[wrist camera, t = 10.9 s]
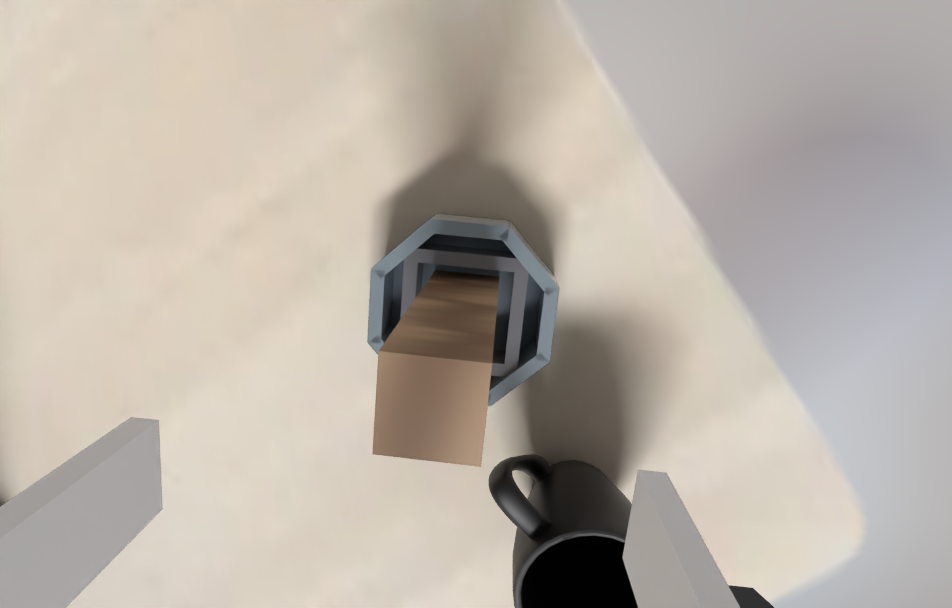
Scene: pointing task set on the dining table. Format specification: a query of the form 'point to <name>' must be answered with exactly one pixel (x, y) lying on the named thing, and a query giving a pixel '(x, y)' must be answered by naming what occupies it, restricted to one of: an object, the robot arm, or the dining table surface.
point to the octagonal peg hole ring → (476, 252)
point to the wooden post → (438, 372)
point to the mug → (565, 535)
